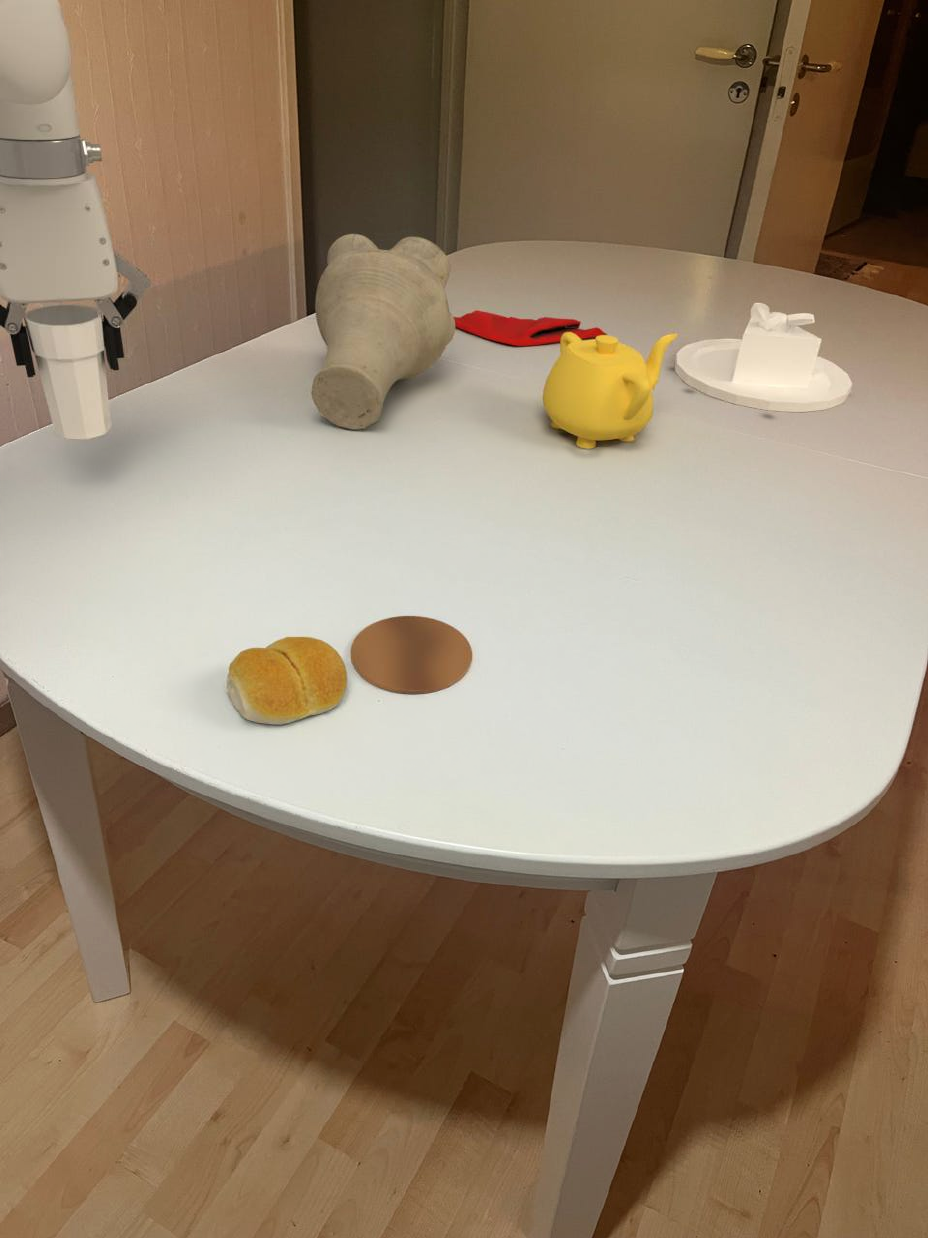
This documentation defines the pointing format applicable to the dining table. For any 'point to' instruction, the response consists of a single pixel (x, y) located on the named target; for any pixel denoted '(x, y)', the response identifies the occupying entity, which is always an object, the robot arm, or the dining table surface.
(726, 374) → the dish
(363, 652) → the coaster
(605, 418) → the teapot
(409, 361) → the vase
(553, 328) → the cloth
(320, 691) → the bread roll
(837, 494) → the dining table surface
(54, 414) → the cup
